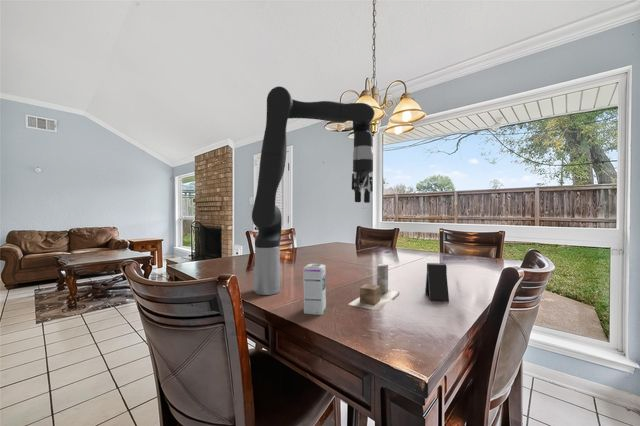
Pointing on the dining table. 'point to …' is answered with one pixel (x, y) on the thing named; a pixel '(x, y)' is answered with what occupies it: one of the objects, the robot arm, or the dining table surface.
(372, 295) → the walnut block
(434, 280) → the door stopper
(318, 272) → the syrup box
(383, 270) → the pale base with post
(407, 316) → the dining table surface
